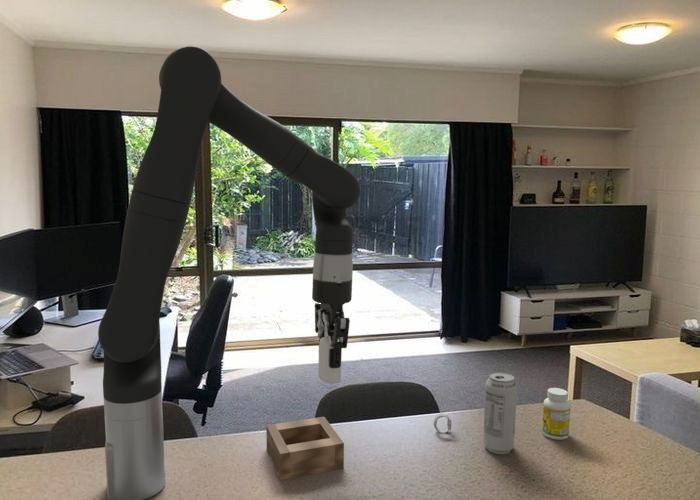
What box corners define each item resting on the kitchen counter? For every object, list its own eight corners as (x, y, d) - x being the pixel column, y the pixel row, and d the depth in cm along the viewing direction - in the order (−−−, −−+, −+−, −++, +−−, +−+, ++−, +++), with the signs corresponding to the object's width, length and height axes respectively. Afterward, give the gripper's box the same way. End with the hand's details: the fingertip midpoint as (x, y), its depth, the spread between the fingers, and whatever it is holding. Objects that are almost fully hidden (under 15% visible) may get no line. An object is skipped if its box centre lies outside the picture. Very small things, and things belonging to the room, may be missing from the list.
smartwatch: (433, 433, 118) (434, 416, 117) (432, 429, 120) (433, 411, 119) (450, 434, 118) (451, 416, 117) (449, 429, 120) (450, 412, 119)
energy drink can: (520, 452, 110) (524, 379, 108) (494, 457, 108) (498, 383, 106) (501, 438, 116) (504, 369, 114) (476, 443, 114) (479, 373, 112)
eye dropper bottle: (340, 374, 111) (342, 316, 109) (340, 385, 105) (343, 323, 104) (318, 374, 111) (320, 315, 109) (317, 384, 105) (319, 322, 104)
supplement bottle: (568, 442, 115) (571, 397, 113) (541, 437, 116) (544, 394, 115) (568, 431, 120) (571, 388, 118) (542, 427, 121) (544, 385, 120)
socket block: (280, 480, 99) (280, 453, 99) (266, 449, 111) (266, 425, 110) (343, 468, 104) (343, 443, 103) (324, 439, 115) (324, 416, 114)
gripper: (303, 270, 111) (300, 352, 113) (325, 284, 97) (322, 376, 100) (338, 269, 113) (335, 349, 116) (365, 282, 100) (361, 373, 102)
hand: (329, 361), depth 108 cm, fingers closed on eye dropper bottle, 5 cm apart
